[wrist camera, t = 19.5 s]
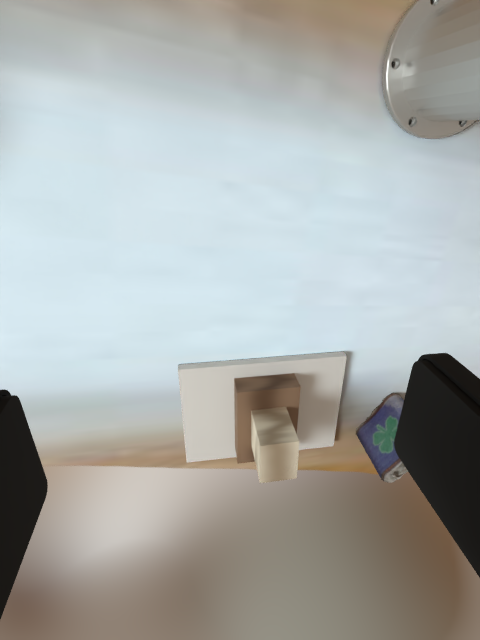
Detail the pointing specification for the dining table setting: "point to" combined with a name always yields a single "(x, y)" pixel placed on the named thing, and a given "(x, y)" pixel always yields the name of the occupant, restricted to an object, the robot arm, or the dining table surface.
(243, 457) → the plinth
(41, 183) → the dining table surface
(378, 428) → the flask
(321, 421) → the plate
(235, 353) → the dining table surface
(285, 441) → the birch block
